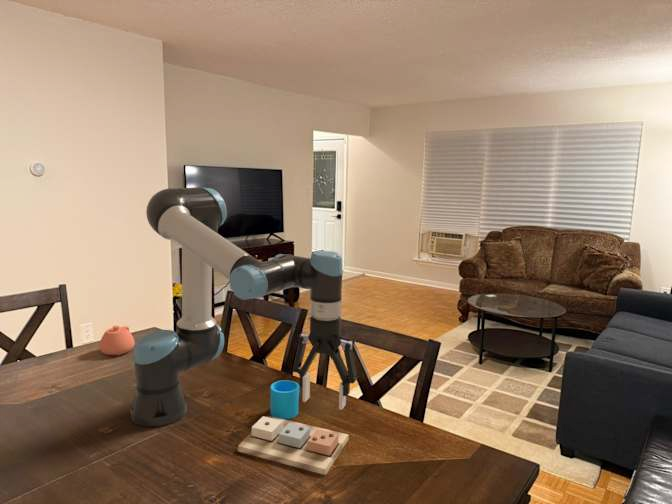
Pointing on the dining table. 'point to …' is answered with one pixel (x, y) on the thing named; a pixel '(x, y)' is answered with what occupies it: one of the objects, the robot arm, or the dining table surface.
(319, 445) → the tile three
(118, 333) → the sugar bowl
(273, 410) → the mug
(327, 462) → the board
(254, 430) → the tile one
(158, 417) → the robot arm
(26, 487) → the dining table surface
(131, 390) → the dining table surface
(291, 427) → the tile two
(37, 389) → the dining table surface
